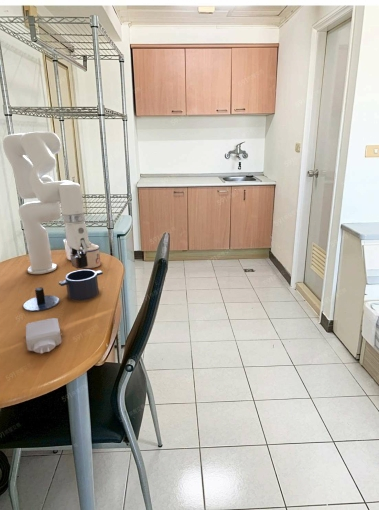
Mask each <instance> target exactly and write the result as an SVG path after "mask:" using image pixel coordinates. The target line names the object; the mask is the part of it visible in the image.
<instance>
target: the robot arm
mask: <svg viewBox="0 0 379 510" xmlns="http://www.w3.org/2000/svg"><path fill="white" fill-rule="evenodd" d="M2 148H3V153H4V155H5V157H6V158H7V160H8V163H9V164H10V166H11V169H12V172H13V177H14V181H15V186H16V189H17V193H18V196H19V197H20V199H22V200H34V199H36V200H37V201H30V202H26V203H23V204H21V205H20V206H19V208H18V216H19V220H20V221H21V224H22V227H23V232H24V238H25V242H26V248H27V254H28V259H29V264H30V266H28V268H27V273H29V274H31V275H43V274H48V273H51V272H54V271H55V270H56V269H57V268H58V267H57V264H56V263H54V262H53V257H52V250H51V244H50V239H49V232H48V231H47V229H46V228H45V227H44V226H43V225H42V223H48V222H53V221H58V220H59V219H60V218H61V217H62V223H63V224H64V233H65V239H66V241H67V245H68V246H69V247H70V251H71V254H76V253H78V257H79V258H78V266H79V268H78V269H83V268H84V267H87V259H86V256H87V255H86V254H87V252H88V249H87V248H89V247H90V244H89V242H90V239H89V233H88V229H87V225H86V217H85V209H84V201H83V200H84V199H83V193H82V192H83V191H82V186H81V184H79V183H77V182H73V181H72V180H57V181H55V180H54V179H53V177H51V176H50V175H48V174H49V173H51V172H52V171H53V170H54V169H55V168H56V166H57V159H56V157H55V156H54V155H56V154H59V153H60V152H61V149H62V142H61V139H60V138H59V136H58V135H57V134H56V133H55V132H52V131H29V132H26V133H12V134H8V135H5V136H4V137H3V140H2ZM80 247H82V249H80ZM82 250H83V251H82ZM80 251H82V252H81V253H80Z"/></svg>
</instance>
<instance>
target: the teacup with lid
mask: <svg viewBox="0 0 379 510" xmlns="http://www.w3.org/2000/svg"><path fill="white" fill-rule="evenodd" d="M89 244H90V247H89V248H87V249H88V252H87V254H86V255H87V262H88V266H87V267H83V268H84V269H95V268H98V267H100V266H101V263H102V262H101V254H100V246H99V245H98V244H94V243H92V242H91V241H89ZM80 249H82V247H80ZM82 251H83V250H82ZM82 251H80V253H81V252H82Z"/></svg>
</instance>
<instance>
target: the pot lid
mask: <svg viewBox="0 0 379 510" xmlns="http://www.w3.org/2000/svg"><path fill="white" fill-rule="evenodd" d="M34 292H35V297H32V298H30V299H28V300H26V301H25V302H24V303H23V304H22V306H23V309H24V311H27V312H32V313H33V312H36V313H37V312H42V311H47V310H50V309H52V308H55V307H56V306H57V305H58V304H59V303H60V298H59V297H58V296H56V295H51V294H50V295H48V294H46V295H45V290H44V287H42V286H39V287H36V288H35V289H34Z"/></svg>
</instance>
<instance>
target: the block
mask: <svg viewBox="0 0 379 510" xmlns="http://www.w3.org/2000/svg"><path fill="white" fill-rule="evenodd" d="M78 258H79V257H78V253H76V254H72V255H71V260H70V262H71V267H73V268H75V269H77V270H79V269H80V268H79V266H78ZM86 259H87V256H86ZM87 266H88V262H87Z"/></svg>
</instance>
